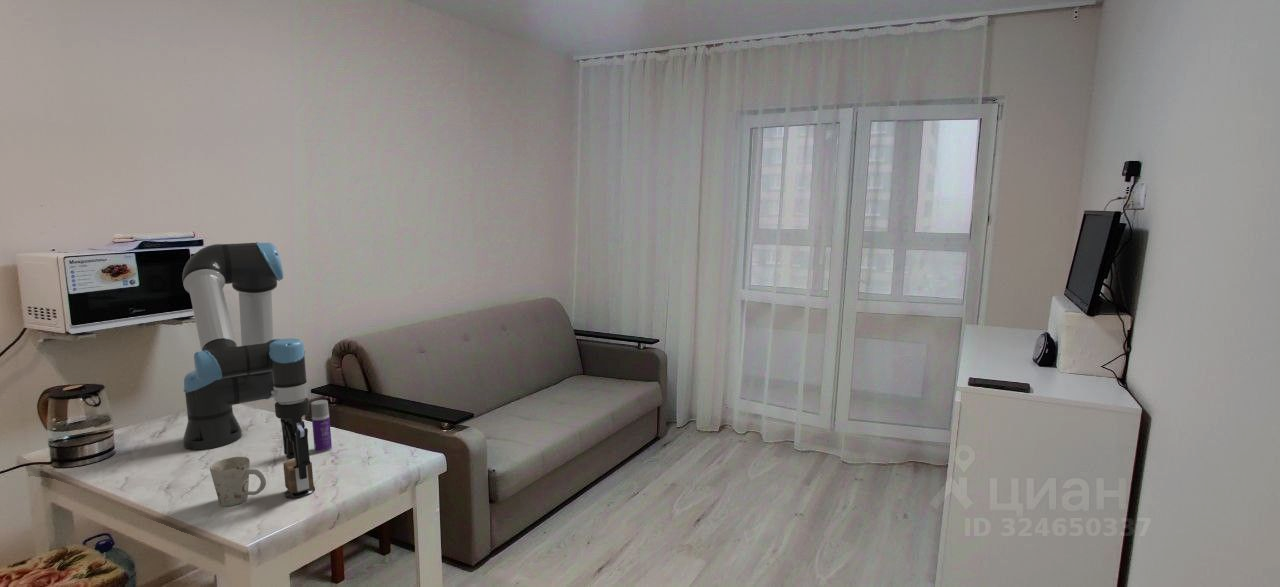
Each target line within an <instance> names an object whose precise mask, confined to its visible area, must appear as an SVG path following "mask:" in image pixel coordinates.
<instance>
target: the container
mask: <svg viewBox="0 0 1280 587" xmlns="http://www.w3.org/2000/svg"><path fill="white" fill-rule="evenodd" d="M310 406H311V422H312V435H313V447H314V452H315V453H325V452H329V451H330V450H332V448H333V445H332V435H331V433H332V431H331V421H330V410H329V409H330V408H329V401H328V400H327V399H318V400H313V401H312V402H311V403H310Z"/></svg>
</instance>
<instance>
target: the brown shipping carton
mask: <svg viewBox="0 0 1280 587" xmlns="http://www.w3.org/2000/svg"><path fill="white" fill-rule="evenodd" d="M282 465H283V475H284V486H285V488H286V490H289V491H290V492H291V493H295V492H298V491H297V486H296V475H295V469H294V468H293V466H296V462H295V460H291V461H288V460H287V461H284V462H283V463H282ZM307 468H308V479H309V488H311V487H315V485H314V475H313V473H314V472H313V463H312V461H310V465H307Z"/></svg>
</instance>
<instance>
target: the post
mask: <svg viewBox="0 0 1280 587" xmlns="http://www.w3.org/2000/svg"><path fill="white" fill-rule="evenodd" d="M315 491H316V487H315V486H314V487H311V488H309V489H305V490H302V491H299V492H295V493H291V492H290V491H289V490H288V489H286V490H285V492H284V497H285V498H286V499H301V498H304V497H307V496H310V495H312V494H313V493H314V492H315Z"/></svg>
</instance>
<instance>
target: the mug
mask: <svg viewBox="0 0 1280 587" xmlns="http://www.w3.org/2000/svg"><path fill="white" fill-rule="evenodd" d="M209 471H210V472H209V473H210V475H211V478H212V482H213V485H214V489H215V493H216V496H217V499H218V503H219V505H220V506H222V507H233V506H236V505H240V504H242V503H244V502H245V501H247V499H248V498H249V496H255V495H258V494H260V493H261V492H262V491H263V490H264V489H265V488H266V486H267V480H266V477H265V475H264V474H263V473H262V472H261V471H260V470H259V469H253V468H252V469H250V458H249V457H246V456H232V457H227V458H223V459H220V460H217V461H215V462H214V463H212V464H211V465H210V466H209ZM250 475H255V476H256V477H257V478H259V481H260V485H259V487H258V488H257V489H256V490H255V491H254V490H253V491H252V490H251V491H250V490H249V484H250V483H249V482H250V480H249V479H250Z"/></svg>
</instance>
